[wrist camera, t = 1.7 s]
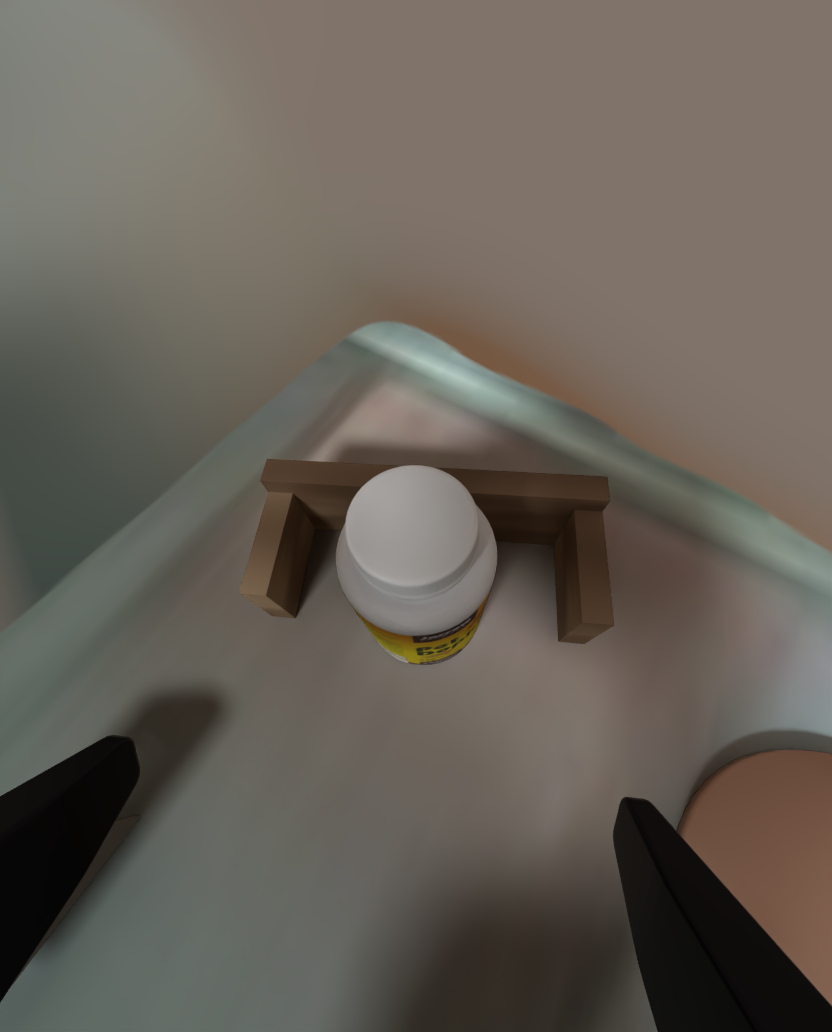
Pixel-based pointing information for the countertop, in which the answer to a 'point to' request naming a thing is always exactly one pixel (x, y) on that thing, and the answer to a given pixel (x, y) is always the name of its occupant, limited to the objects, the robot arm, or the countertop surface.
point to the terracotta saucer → (773, 848)
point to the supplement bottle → (417, 562)
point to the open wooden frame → (498, 494)
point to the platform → (93, 870)
